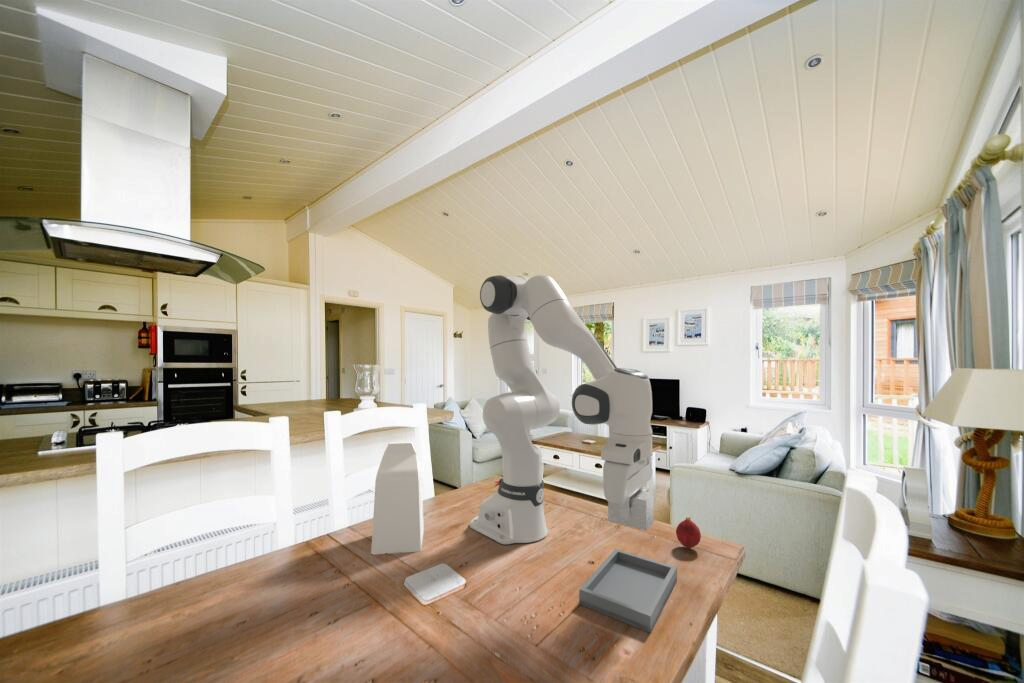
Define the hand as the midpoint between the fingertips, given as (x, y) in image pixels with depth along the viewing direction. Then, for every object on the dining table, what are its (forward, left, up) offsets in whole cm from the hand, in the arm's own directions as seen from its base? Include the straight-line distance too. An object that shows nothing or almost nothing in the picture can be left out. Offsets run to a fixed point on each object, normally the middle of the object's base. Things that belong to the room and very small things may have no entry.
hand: (630, 511), depth 84 cm
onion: (+6, +27, -17) cm, 32 cm away
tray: (0, 0, -17) cm, 17 cm away
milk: (-57, -14, -17) cm, 61 cm away
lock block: (0, 0, -2) cm, 2 cm away
